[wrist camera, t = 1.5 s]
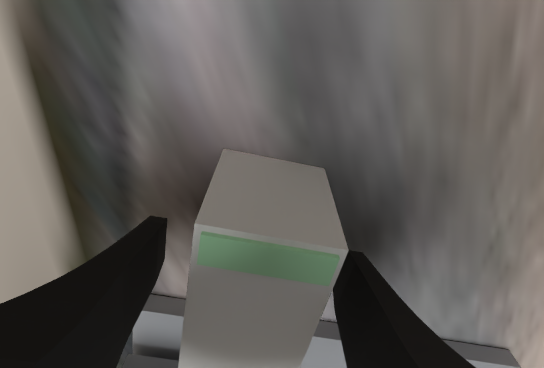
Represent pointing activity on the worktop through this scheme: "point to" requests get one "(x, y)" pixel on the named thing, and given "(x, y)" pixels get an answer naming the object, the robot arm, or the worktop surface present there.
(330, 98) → the worktop surface
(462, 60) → the worktop surface
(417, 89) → the worktop surface
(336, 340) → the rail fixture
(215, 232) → the module
